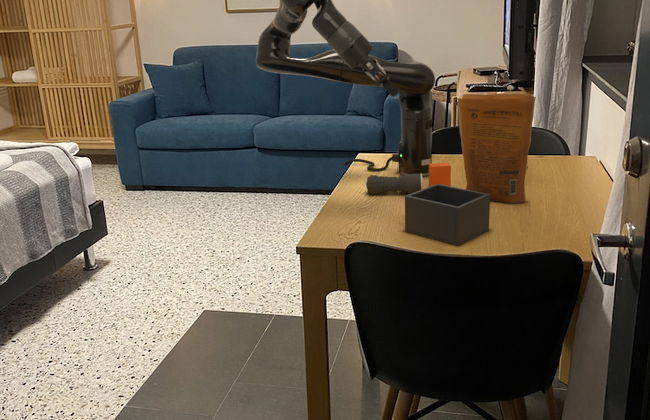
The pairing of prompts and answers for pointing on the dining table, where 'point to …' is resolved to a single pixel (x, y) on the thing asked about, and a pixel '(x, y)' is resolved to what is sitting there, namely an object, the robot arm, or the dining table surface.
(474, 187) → the pancake mix bag
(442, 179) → the block
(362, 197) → the dining table surface
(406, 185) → the flashlight
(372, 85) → the robot arm
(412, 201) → the trash bin
